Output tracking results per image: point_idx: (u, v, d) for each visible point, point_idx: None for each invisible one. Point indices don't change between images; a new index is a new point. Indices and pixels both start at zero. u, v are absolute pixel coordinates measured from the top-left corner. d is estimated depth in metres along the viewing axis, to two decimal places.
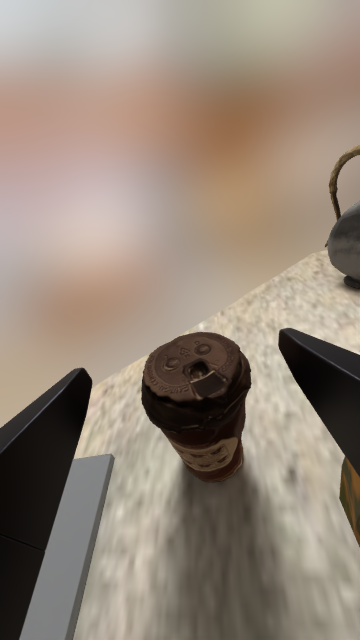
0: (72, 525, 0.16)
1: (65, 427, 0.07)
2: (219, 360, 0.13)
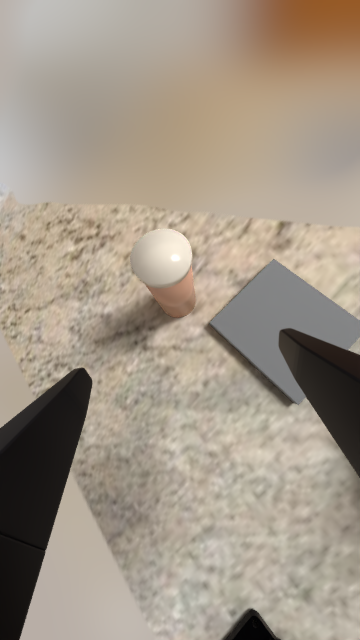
0: None
1: (65, 427, 0.07)
2: None
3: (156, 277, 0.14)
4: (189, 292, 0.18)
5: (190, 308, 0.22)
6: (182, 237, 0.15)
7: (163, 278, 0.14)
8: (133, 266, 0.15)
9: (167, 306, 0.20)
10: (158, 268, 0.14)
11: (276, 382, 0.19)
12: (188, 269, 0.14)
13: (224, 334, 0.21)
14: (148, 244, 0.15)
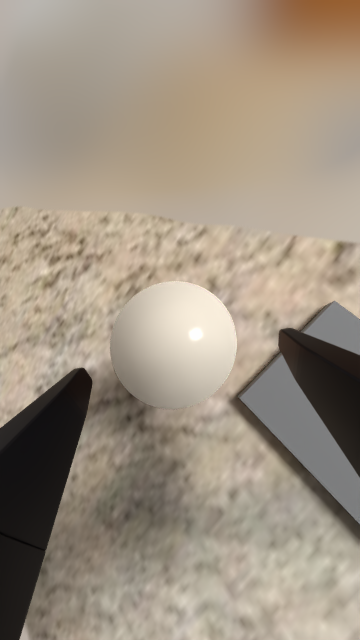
0: None
1: (65, 427, 0.07)
2: None
3: (162, 392, 0.07)
4: None
5: None
6: (215, 302, 0.07)
7: (177, 396, 0.07)
8: (115, 361, 0.07)
9: None
10: (167, 370, 0.07)
11: (351, 511, 0.12)
12: None
13: (262, 420, 0.14)
14: (147, 313, 0.07)
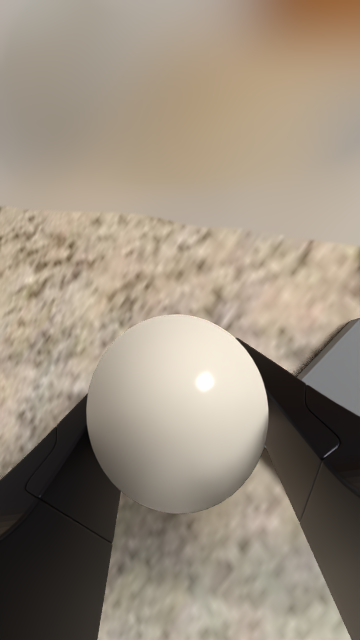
0: None
1: None
2: None
3: (160, 484, 0.05)
4: None
5: None
6: (235, 348, 0.05)
7: (182, 493, 0.04)
8: (93, 431, 0.05)
9: None
10: (166, 450, 0.05)
11: None
12: None
13: None
14: (138, 361, 0.05)
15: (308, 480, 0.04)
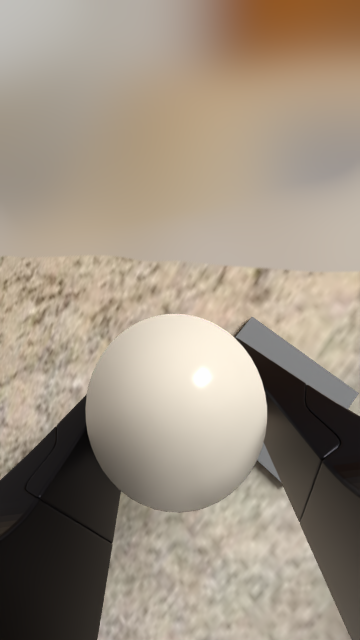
0: None
1: None
2: None
3: (159, 483, 0.05)
4: None
5: None
6: (234, 347, 0.05)
7: (181, 491, 0.04)
8: (93, 430, 0.05)
9: None
10: (165, 449, 0.05)
11: (264, 465, 0.18)
12: None
13: None
14: (137, 360, 0.05)
15: (308, 480, 0.04)
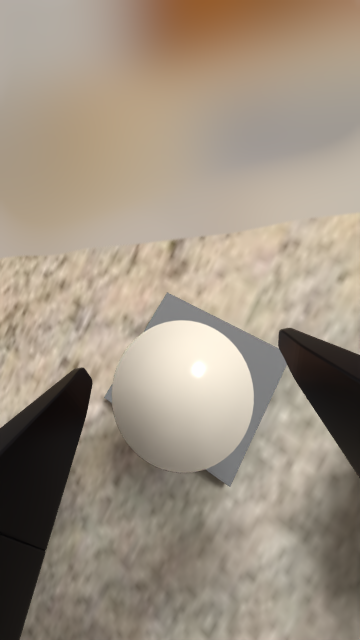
0: None
1: (65, 427, 0.07)
2: None
3: (170, 451, 0.06)
4: None
5: None
6: (229, 346, 0.07)
7: (187, 457, 0.06)
8: (118, 412, 0.06)
9: None
10: (175, 425, 0.06)
11: None
12: None
13: None
14: (152, 357, 0.07)
15: None
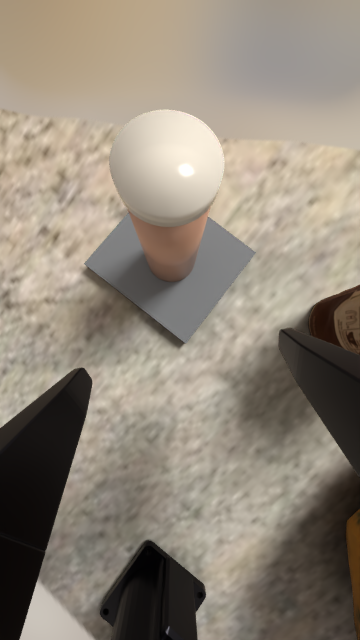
0: (206, 282, 0.18)
1: (65, 427, 0.07)
2: None
3: (154, 201, 0.08)
4: (194, 248, 0.12)
5: (186, 272, 0.17)
6: (211, 137, 0.08)
7: (166, 206, 0.08)
8: (114, 170, 0.08)
9: (158, 262, 0.14)
10: (160, 185, 0.08)
11: (162, 323, 0.17)
12: (211, 201, 0.08)
13: (102, 276, 0.18)
14: (148, 134, 0.08)
15: None
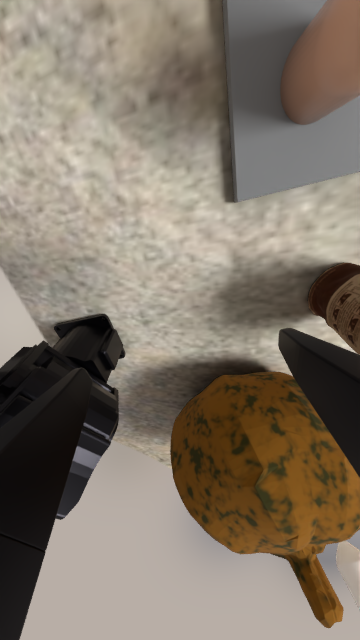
0: (310, 153, 0.14)
1: (65, 427, 0.07)
2: None
3: None
4: None
5: (313, 117, 0.13)
6: None
7: None
8: None
9: (323, 57, 0.09)
10: None
11: (237, 160, 0.14)
12: None
13: (229, 5, 0.11)
14: None
15: None
